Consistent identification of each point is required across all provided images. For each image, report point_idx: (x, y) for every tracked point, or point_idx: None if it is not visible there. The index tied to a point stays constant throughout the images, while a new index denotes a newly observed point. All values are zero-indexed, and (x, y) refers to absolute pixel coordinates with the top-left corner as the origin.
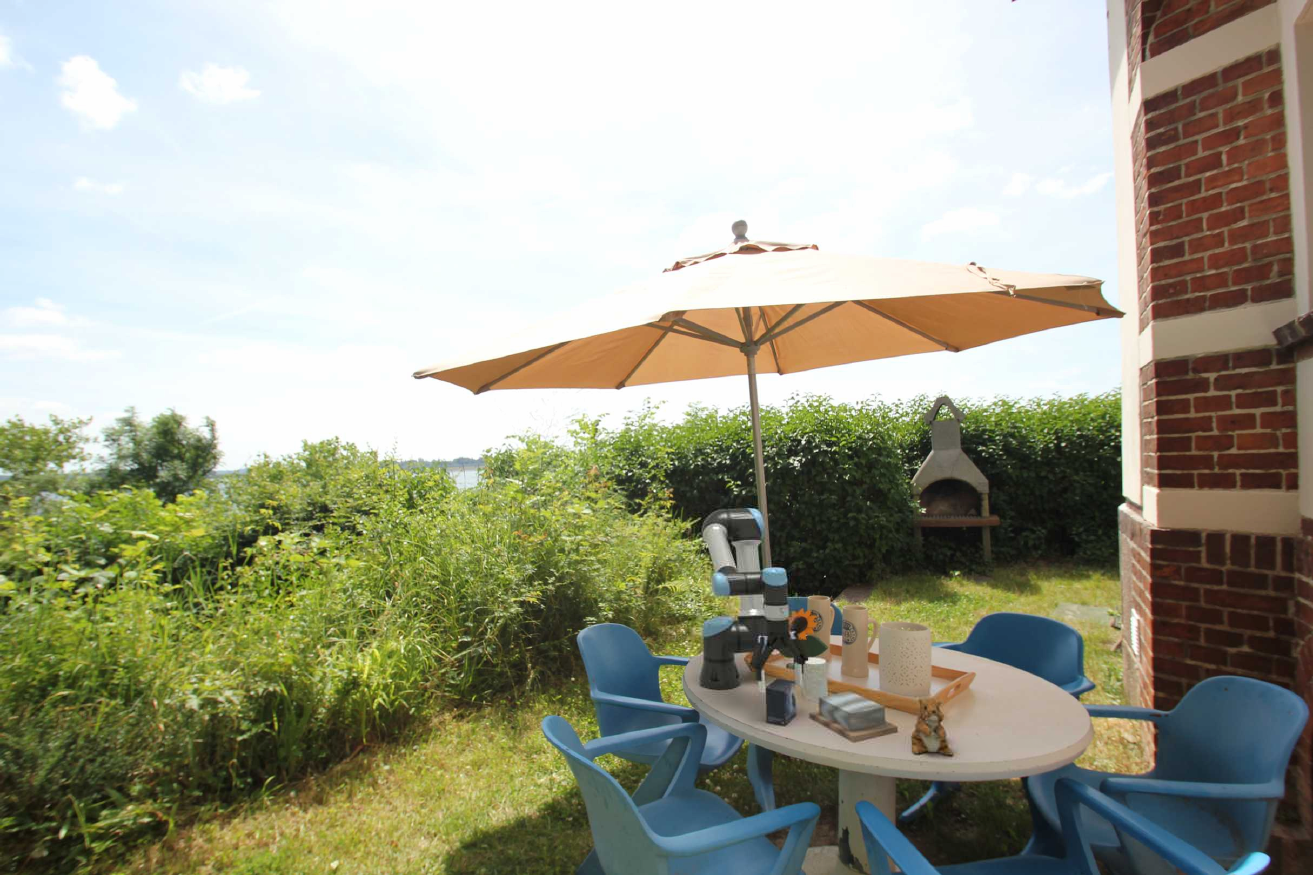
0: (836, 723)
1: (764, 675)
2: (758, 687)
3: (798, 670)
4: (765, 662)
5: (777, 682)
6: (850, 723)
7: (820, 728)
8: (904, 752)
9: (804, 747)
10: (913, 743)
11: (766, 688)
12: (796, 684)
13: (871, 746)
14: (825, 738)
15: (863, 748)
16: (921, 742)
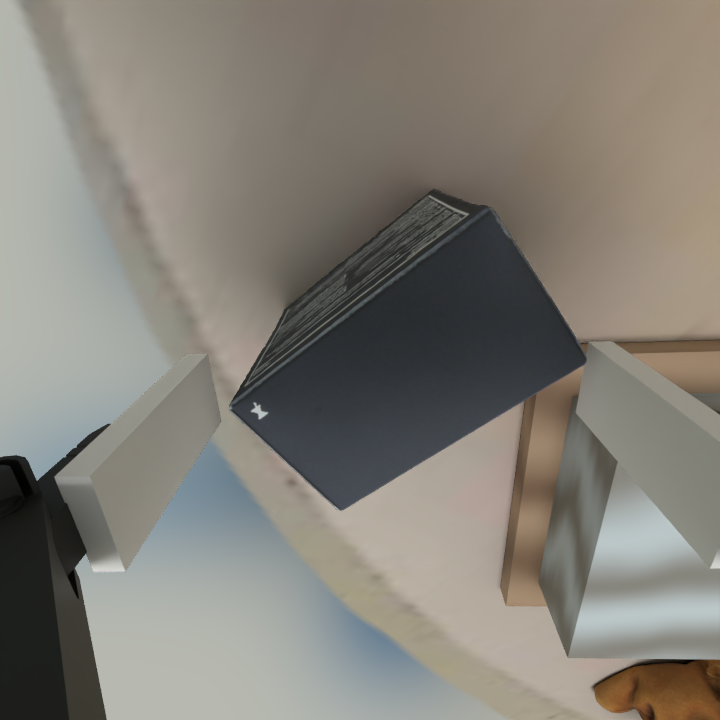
0: (550, 507)
1: (157, 520)
2: (176, 364)
3: (661, 484)
4: (92, 671)
5: (400, 343)
6: (550, 602)
7: (482, 464)
8: (578, 674)
9: (313, 558)
10: (637, 686)
11: (236, 411)
12: (586, 354)
13: (526, 623)
14: (431, 535)
15: (491, 623)
16: (644, 717)
